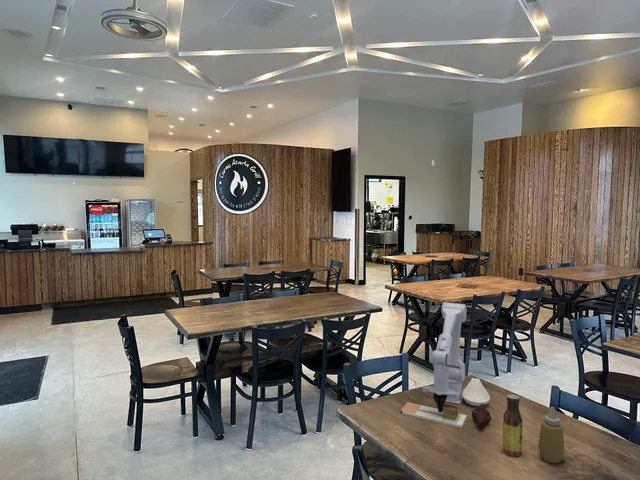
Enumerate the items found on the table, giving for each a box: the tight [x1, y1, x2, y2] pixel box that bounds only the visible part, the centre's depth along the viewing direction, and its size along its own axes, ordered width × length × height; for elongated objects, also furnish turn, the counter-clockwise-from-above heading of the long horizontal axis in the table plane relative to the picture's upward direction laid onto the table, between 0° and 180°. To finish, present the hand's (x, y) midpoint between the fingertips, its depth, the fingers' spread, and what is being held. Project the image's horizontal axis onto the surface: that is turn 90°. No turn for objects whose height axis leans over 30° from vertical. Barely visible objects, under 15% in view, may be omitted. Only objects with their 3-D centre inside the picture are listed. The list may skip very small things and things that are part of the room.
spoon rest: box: [462, 377, 491, 407], centre depth 197 cm, size 24×12×7 cm, turn 162°
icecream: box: [471, 404, 492, 426], centre depth 172 cm, size 7×7×15 cm
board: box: [400, 401, 467, 429], centre depth 179 cm, size 10×25×1 cm, turn 61°
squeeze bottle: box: [537, 406, 566, 464], centre depth 147 cm, size 8×8×18 cm
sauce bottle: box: [502, 394, 524, 457], centre depth 151 cm, size 7×6×20 cm
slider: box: [443, 402, 459, 420], centre depth 176 cm, size 5×5×4 cm
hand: (440, 411), depth 178 cm, fingers closed
